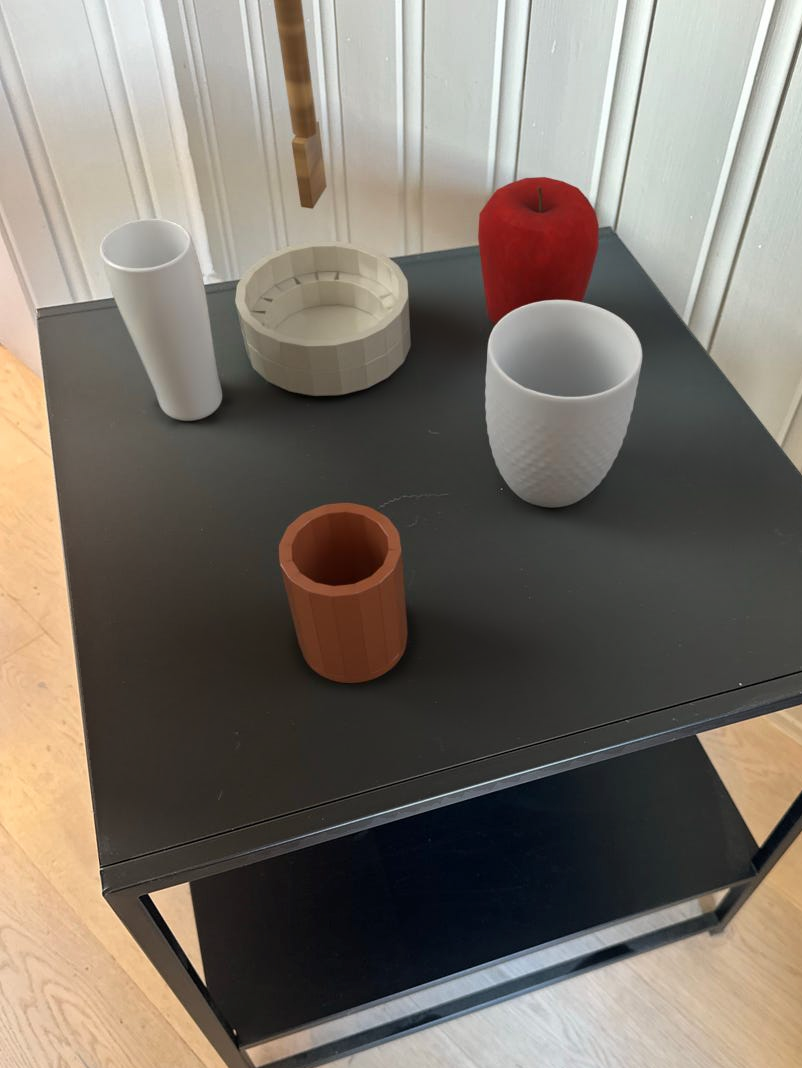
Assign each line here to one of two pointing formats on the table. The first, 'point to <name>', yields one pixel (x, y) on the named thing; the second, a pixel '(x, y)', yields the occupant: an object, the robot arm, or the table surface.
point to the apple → (536, 244)
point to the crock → (346, 590)
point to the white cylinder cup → (165, 313)
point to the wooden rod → (301, 102)
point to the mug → (559, 397)
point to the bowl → (324, 317)
